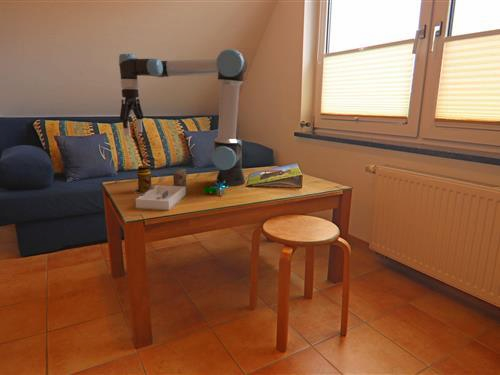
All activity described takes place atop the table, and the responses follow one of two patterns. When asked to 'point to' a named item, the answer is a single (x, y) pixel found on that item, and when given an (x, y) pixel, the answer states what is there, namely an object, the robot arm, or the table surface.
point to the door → (180, 178)
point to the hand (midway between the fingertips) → (133, 133)
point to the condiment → (143, 179)
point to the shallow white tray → (160, 197)
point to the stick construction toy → (215, 188)
